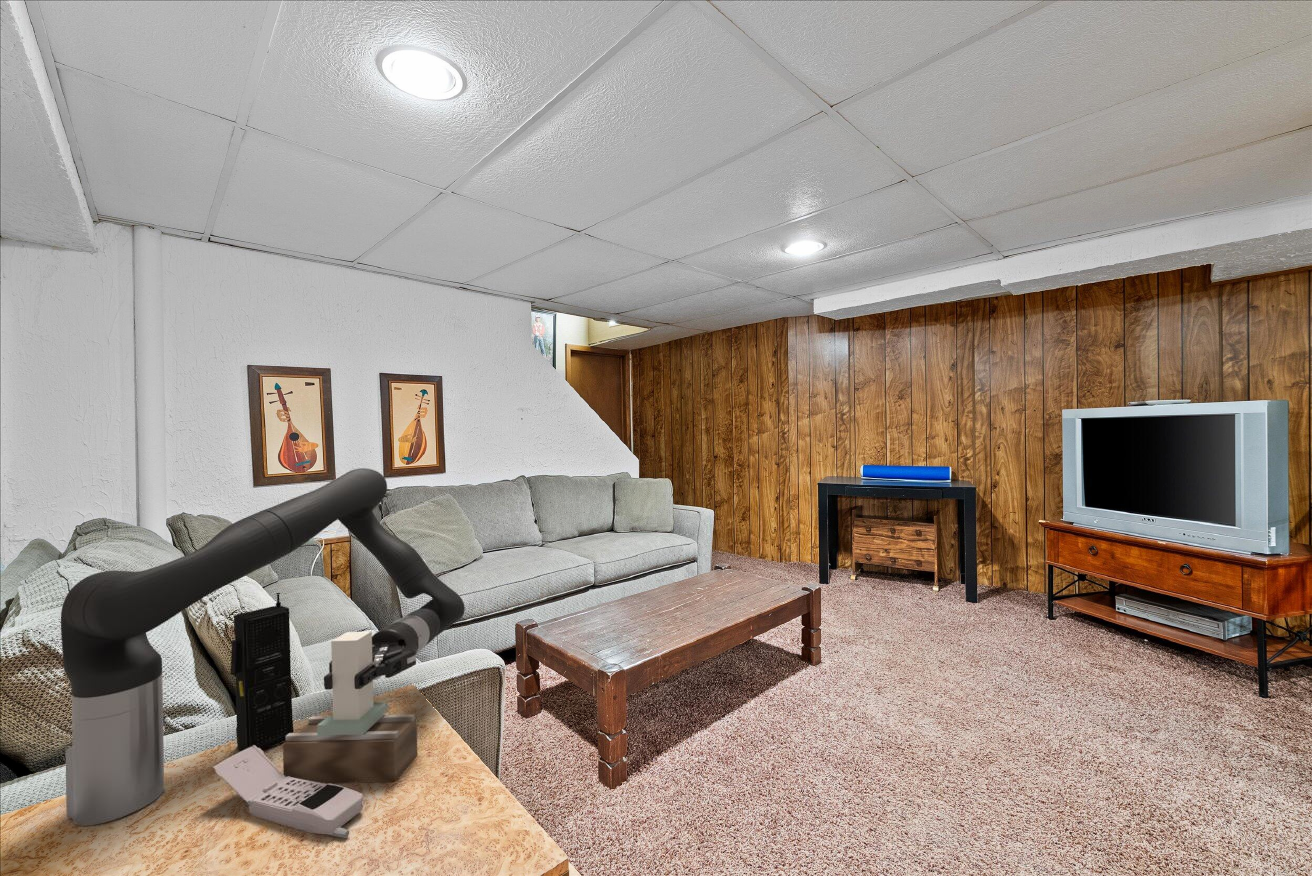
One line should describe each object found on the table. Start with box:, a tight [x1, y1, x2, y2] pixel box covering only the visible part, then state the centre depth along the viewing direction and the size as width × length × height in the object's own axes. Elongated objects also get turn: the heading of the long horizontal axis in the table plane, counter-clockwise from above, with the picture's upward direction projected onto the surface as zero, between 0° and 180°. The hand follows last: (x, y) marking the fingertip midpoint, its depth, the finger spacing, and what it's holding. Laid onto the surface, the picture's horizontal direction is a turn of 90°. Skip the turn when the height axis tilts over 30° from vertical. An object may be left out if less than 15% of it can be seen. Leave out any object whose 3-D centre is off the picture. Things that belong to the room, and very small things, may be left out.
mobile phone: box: [212, 745, 364, 839], centre depth 74 cm, size 6×6×25 cm
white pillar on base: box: [317, 630, 389, 735], centre depth 83 cm, size 7×7×14 cm
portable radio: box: [229, 592, 294, 752], centre depth 91 cm, size 8×6×25 cm
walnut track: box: [282, 713, 418, 784], centre depth 83 cm, size 17×7×7 cm, turn 88°
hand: (342, 682), depth 80 cm, fingers closed on white pillar on base, 4 cm apart
